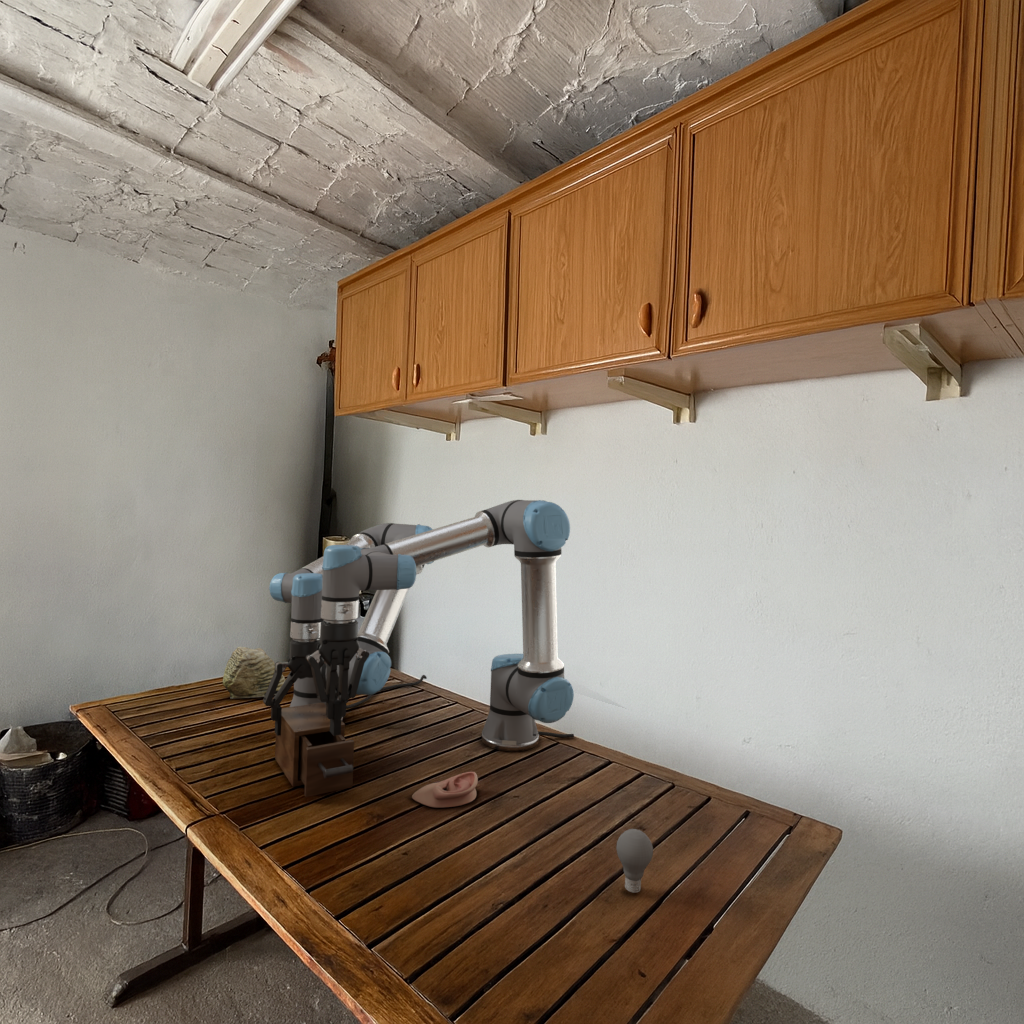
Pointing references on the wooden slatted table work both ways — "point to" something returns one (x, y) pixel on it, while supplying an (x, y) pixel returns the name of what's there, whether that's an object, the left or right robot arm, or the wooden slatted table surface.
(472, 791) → the anatomical model
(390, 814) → the wooden slatted table surface
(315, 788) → the drawer
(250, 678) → the fossil
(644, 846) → the light bulb
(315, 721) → the cabinet
